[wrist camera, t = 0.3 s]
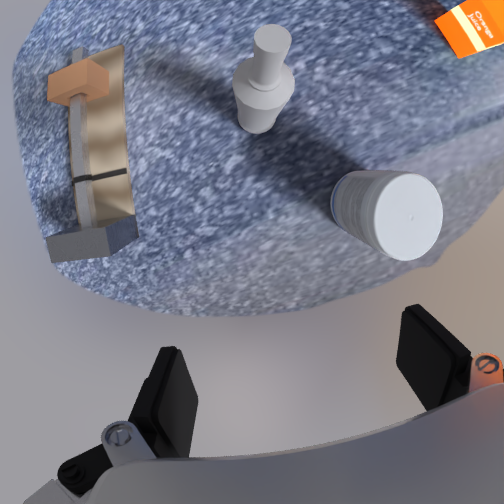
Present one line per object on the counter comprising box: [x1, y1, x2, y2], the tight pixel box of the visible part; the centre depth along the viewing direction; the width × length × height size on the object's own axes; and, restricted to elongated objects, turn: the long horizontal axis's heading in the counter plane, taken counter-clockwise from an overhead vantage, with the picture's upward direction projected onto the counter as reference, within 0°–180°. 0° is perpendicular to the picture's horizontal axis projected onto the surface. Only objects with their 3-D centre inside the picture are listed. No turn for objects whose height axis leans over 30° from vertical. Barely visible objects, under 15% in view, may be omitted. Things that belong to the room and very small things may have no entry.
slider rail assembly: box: [46, 47, 139, 263], centre depth 31 cm, size 30×10×10 cm, turn 5°
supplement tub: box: [330, 170, 443, 261], centre depth 33 cm, size 10×10×15 cm
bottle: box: [232, 24, 295, 134], centre depth 24 cm, size 5×5×25 cm
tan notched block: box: [47, 58, 109, 107], centre depth 29 cm, size 4×7×7 cm, turn 95°
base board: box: [68, 45, 139, 237], centre depth 36 cm, size 31×10×1 cm, turn 5°
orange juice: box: [435, 0, 504, 59], centre depth 21 cm, size 8×9×20 cm
